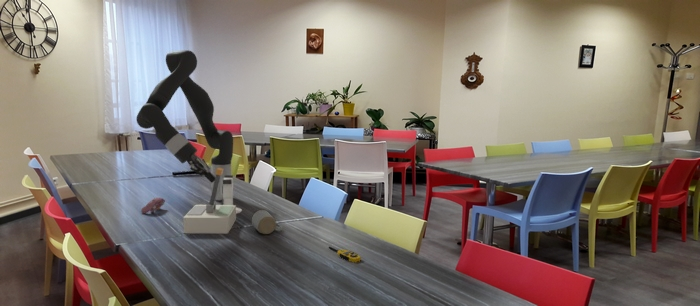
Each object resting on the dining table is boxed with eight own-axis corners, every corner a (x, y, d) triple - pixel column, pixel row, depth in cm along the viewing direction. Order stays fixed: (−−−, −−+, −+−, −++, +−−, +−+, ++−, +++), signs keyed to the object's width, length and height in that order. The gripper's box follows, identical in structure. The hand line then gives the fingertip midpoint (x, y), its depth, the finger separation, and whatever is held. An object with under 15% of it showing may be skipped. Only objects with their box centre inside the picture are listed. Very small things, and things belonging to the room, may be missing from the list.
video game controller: (148, 218, 182) (154, 204, 181) (139, 212, 182) (145, 198, 181) (162, 211, 192) (168, 198, 190) (154, 206, 192) (160, 193, 191)
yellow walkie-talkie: (352, 258, 138) (323, 245, 149) (352, 264, 138) (323, 250, 149) (363, 255, 141) (334, 242, 152) (363, 261, 141) (333, 247, 152)
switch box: (183, 233, 160) (183, 209, 159) (196, 218, 178) (195, 197, 177) (228, 233, 162) (228, 209, 160) (235, 219, 179) (235, 197, 178)
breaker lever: (207, 210, 167) (216, 169, 165) (209, 208, 171) (218, 167, 169) (212, 211, 167) (221, 170, 165) (214, 209, 171) (223, 168, 169)
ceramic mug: (258, 236, 160) (258, 216, 159) (251, 230, 167) (251, 210, 165) (285, 233, 165) (285, 213, 164) (277, 227, 172) (278, 208, 171)
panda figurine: (216, 207, 196) (216, 174, 194) (242, 207, 198) (242, 174, 196) (213, 215, 184) (213, 180, 182) (241, 214, 186) (241, 180, 184)
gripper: (183, 143, 158) (217, 177, 161) (193, 139, 171) (224, 171, 174) (168, 157, 158) (202, 191, 161) (179, 152, 171) (211, 183, 174)
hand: (214, 180), depth 167 cm, fingers closed
